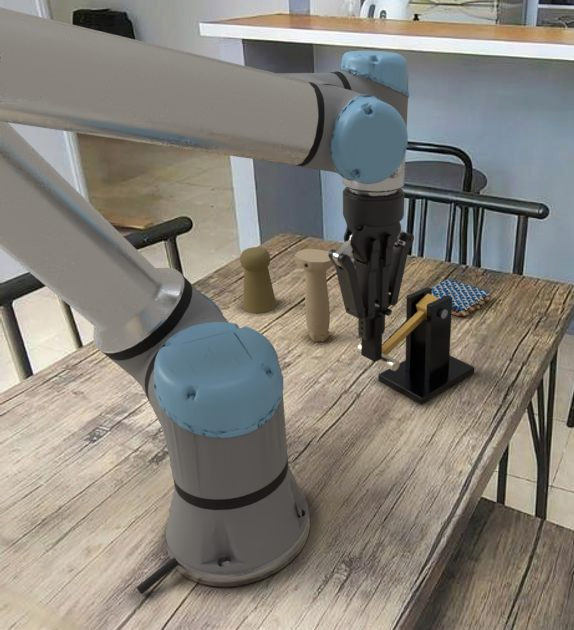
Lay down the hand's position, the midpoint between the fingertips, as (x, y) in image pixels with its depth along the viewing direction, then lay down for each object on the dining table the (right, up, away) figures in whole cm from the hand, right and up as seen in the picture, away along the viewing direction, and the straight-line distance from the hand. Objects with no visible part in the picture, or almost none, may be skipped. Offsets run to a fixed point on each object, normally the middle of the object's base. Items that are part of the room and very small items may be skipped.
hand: (371, 356), depth 93 cm
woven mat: (+13, +8, +35) cm, 38 cm away
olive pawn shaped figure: (-23, +7, +32) cm, 40 cm away
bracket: (+8, -4, +11) cm, 14 cm away
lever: (+5, +3, +4) cm, 7 cm away
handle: (-10, +2, +22) cm, 24 cm away
